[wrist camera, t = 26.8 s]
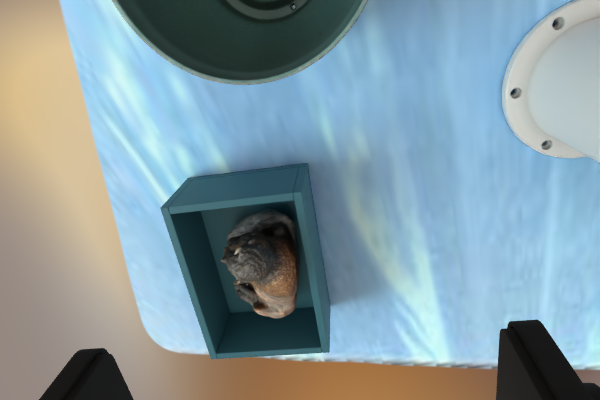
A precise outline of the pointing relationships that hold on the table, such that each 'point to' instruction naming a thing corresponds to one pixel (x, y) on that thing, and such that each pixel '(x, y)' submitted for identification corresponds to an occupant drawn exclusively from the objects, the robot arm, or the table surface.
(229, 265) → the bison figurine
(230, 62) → the flower pot
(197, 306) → the bin
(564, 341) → the table surface
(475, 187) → the table surface
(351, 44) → the table surface
